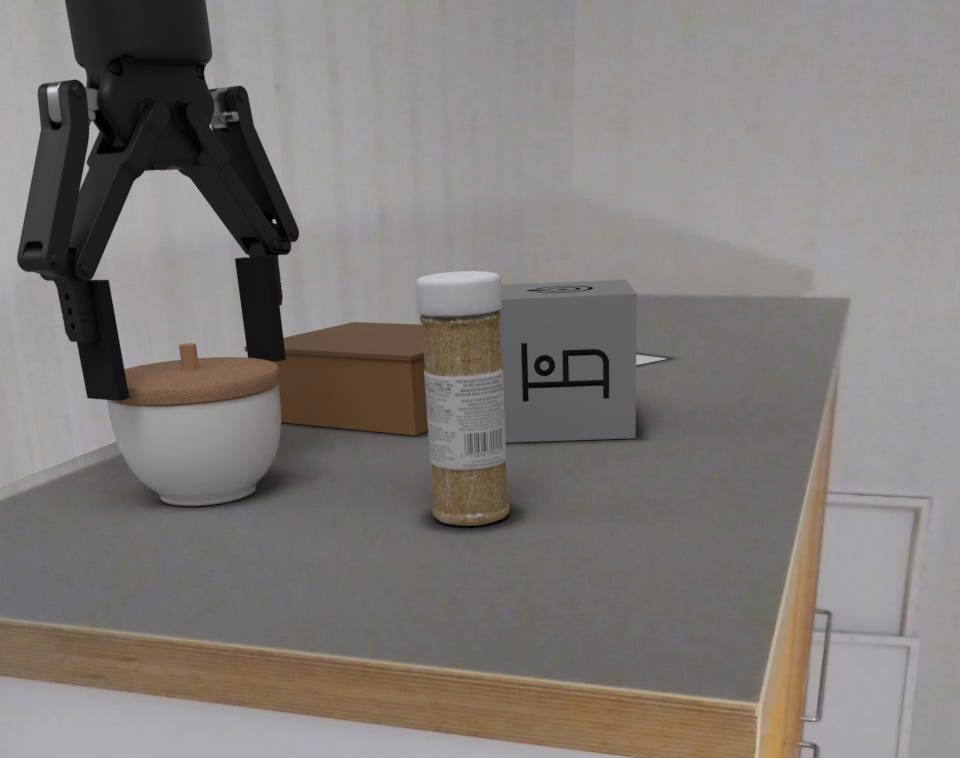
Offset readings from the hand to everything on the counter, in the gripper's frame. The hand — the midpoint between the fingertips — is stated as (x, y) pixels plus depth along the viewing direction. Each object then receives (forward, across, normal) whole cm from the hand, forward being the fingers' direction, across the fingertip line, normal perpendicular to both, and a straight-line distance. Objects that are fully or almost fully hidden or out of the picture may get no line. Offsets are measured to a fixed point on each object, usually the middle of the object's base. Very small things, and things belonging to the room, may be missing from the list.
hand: (193, 378), depth 70 cm
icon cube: (+8, +25, -13) cm, 29 cm away
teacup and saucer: (+7, +49, +4) cm, 50 cm away
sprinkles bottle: (+8, +2, -19) cm, 20 cm away
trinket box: (+7, 0, 0) cm, 7 cm away
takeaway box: (+7, +25, +4) cm, 26 cm away
